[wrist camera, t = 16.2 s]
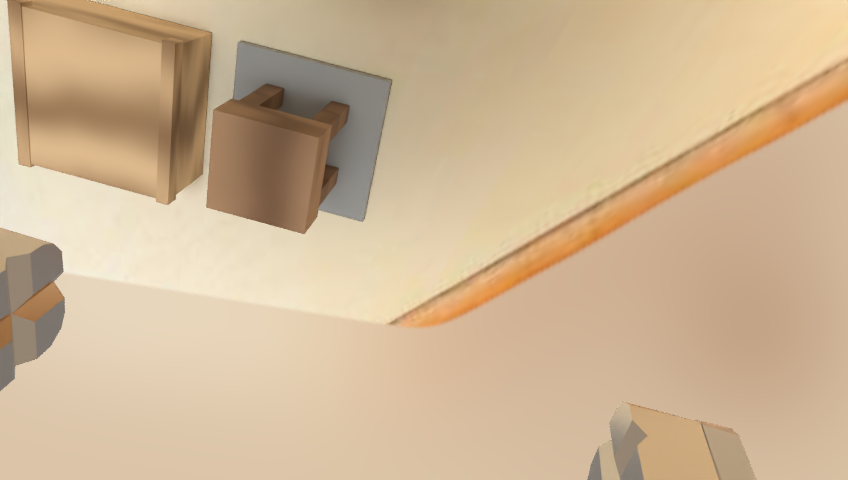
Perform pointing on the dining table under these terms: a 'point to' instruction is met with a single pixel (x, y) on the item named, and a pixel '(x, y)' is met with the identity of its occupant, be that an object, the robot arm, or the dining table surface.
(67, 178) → the dining table surface
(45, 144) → the tan wooden pedestal
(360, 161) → the mat
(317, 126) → the tan pegged block
